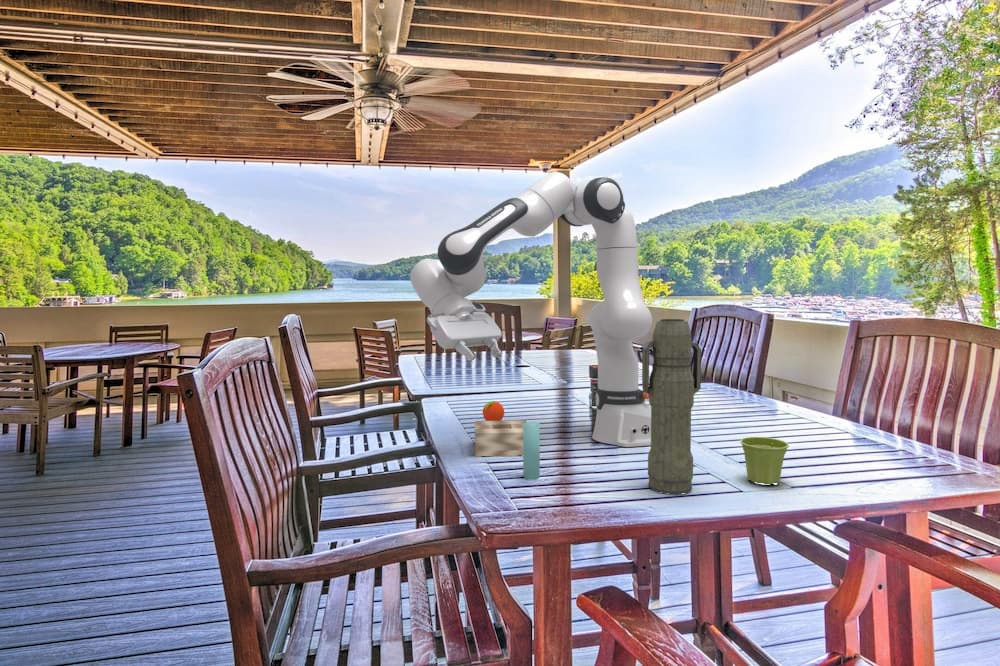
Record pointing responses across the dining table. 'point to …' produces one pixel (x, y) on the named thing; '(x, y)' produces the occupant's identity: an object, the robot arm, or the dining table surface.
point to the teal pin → (531, 450)
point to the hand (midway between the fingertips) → (485, 357)
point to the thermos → (671, 404)
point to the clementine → (493, 411)
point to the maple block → (499, 438)
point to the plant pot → (764, 458)
